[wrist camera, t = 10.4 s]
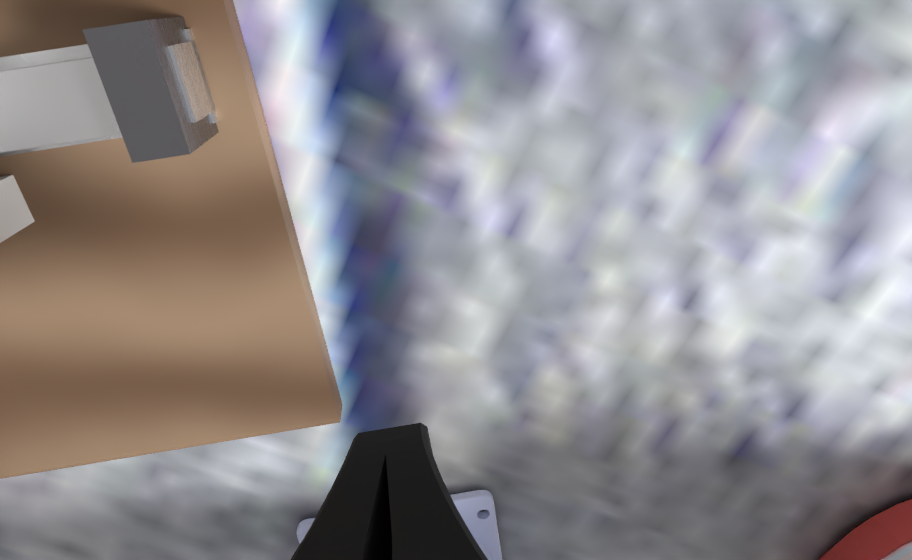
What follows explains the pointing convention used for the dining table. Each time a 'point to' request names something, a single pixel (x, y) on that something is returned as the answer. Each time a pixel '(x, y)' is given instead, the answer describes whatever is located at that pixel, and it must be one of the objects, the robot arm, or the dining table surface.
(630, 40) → the dining table surface
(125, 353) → the board
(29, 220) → the block
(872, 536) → the citrus juicer
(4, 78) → the rail
